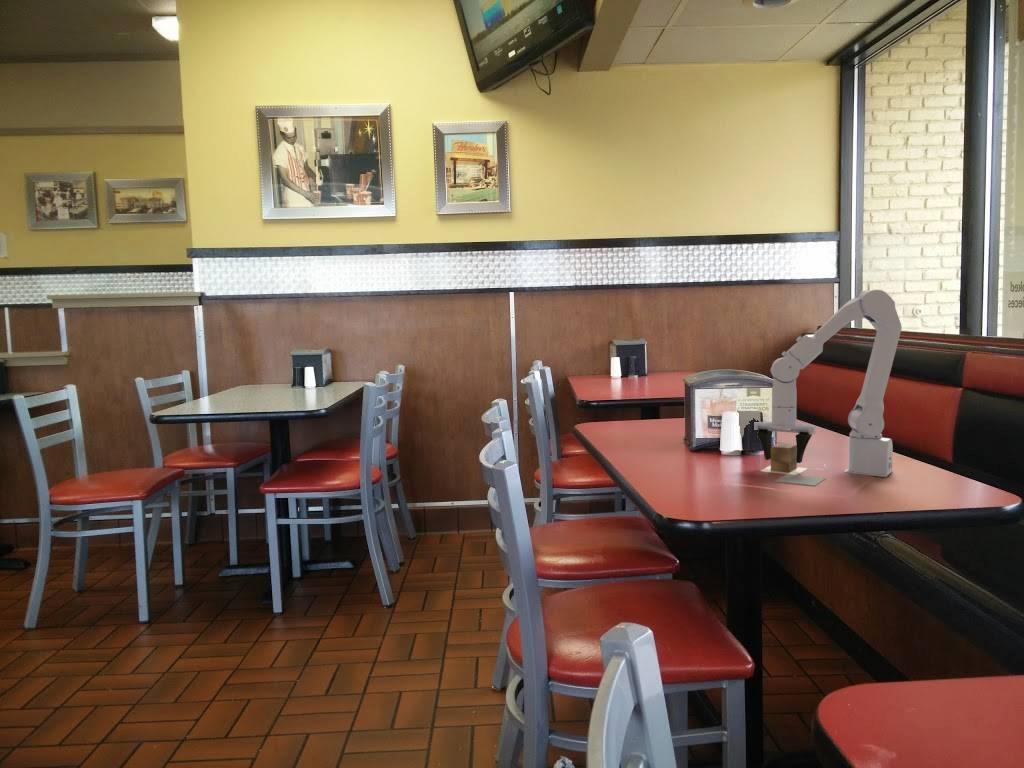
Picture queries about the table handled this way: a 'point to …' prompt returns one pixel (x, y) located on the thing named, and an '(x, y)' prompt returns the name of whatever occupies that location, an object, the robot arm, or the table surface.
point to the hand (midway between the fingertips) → (783, 460)
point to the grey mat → (800, 480)
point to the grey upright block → (747, 417)
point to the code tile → (794, 472)
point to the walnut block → (783, 457)
